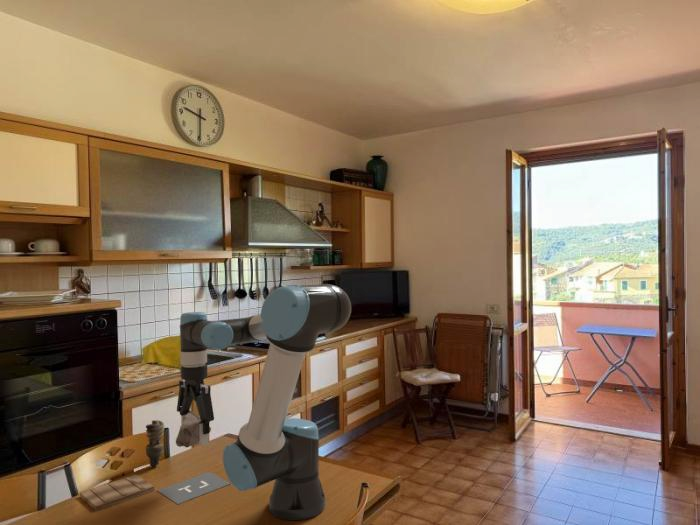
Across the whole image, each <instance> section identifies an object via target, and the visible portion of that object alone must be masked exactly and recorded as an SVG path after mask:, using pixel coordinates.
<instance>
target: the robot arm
mask: <svg viewBox="0 0 700 525" xmlns="http://www.w3.org/2000/svg"><path fill="white" fill-rule="evenodd" d="M261 306H262V307H261V311H260V313H259V314H255V315H252V316H248V317H241V318H231V319H220V320H208V316H207V313H206V312H204V311H192V312H189V311H188V312H183V313H182V314H181V315H180V323H179V336H180V340H179V341H180V351H179V352H180V355H179V356H180V365H181V367H180V379H182V380H179V382H178V383H179V384H178V386H179V387H178V397H177V405H176V412H177V413H179V415H180V421H181V422H180V423H181V425H182V424H183V421H184V418H185V416H186V415H187V414H188V413H189V412H190V411H191V407H192V404H193V401H194V402H195V404H196V409H197V412H198V416H199V417H200V419H201V422H199V434H200V442H199V447H203V446H206V445H209V444H210V433H209V426H210V422H212V421H215V415H214V409H213V402H212V396H211V385H205V382H204V379H205V378H207V377H208V365H207V364H206V363H208V349H211V350H224V349H226V348H227V347H228V346H229V347H230V346H235V345H236V346H237V345H241V344H249V343H258V342H259V343H260V342H262V341H265V340H266V341H267V342H268V343H269V347H268V351H267V355H266V358H265V361H264V364H263V365H264V366H263V369H262V372H261V375H260V379H259V383H258V386H257V390H256V393H255V396H254V401H253V404H252V408H251V411H250V415H249V419H248V421H247V423H245V424H244V425H242V426H241V427H240V429H239V432H238V435H237V438H236V441H235V442H230V443H229V444H227V445H226V446H224V449H223V452H222V464H223V467H224V471H225V474H226V477H227V479H228V481H229V483H231V484H230V485H232V486H233V487H234V488H235V489H236V490H238V491H239V492H240V491H242V492H246V491H249V490H253V489H256V488H258V487H261V486H263V485H265V484H267V483H270V482H272V481H274V483H273V486H272V487H273V488H272V491H271V494H270V496H269V500H268V502H269V503H268V504H269V506H268V509H269V512H270V513H271V514H272V515H273V516H274V517H277V518H279V519H282V520H287V521H301V520H307V519H310V518H313V517H316V516H318V515H319V514H321V513H322V512H323V511H324V509H325V507H326V496H325V493H324V489H323V486H322V483H321V480H320V476H319V475H320V474H319V466H320V465H319V460H320V459H319V458H320V455H319V453H320V452H319V449H320V447H319V443H320V442H319V440H320V437H319V427H318V425H317V424H316V423H315V422H313V421H311V420H308V419H305V418H304V419H303V418H297V417H296V418H294V417H293V418H292V417H291V418H290V417H289V418H287V416H288V412H289V410H290V406H291V403H292V399H293V396H294V393H295V389H296V386H297V383H298V379H299V375H300V373H301V369H302V366H303V365H304V364H303V363H304V360H305V356H306V354H308V353H310V352H312V351H313V350H314V349H315V346H316V344H317V339H318V336H319V335H321V334H325V333H326V334H327V333H332V332H335V331H338V330H340V329H341V328H342V327H344V326H345V325H346V324H347V323H348V321H349V320H350V317H351V314H352V303H351V300H350V298H349V296H348V294H347V293H346V291H344V290H343V289H342V288H341V287H339V286H337V285H334V284H330V283H323V284H302V285H298V284H289V285H286V286H280V287H276V288H275V289H273V290H272V291H270V292H269V293H268V295H266V297H265V299H264V301H263V303H262V305H261ZM181 425H180V426H181Z"/></svg>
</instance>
